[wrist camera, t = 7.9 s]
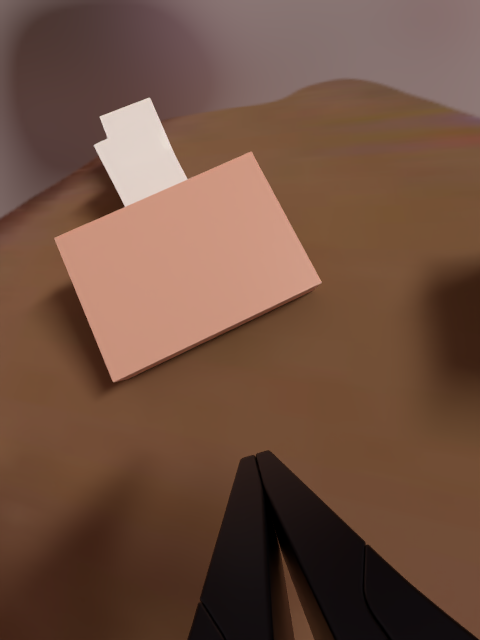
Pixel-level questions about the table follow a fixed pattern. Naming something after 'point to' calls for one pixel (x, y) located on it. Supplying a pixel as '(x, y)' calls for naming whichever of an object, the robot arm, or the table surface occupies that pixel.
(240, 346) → the table surface
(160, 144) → the ivory domino
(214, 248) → the terracotta tile
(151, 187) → the ivory domino
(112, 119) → the ivory domino
